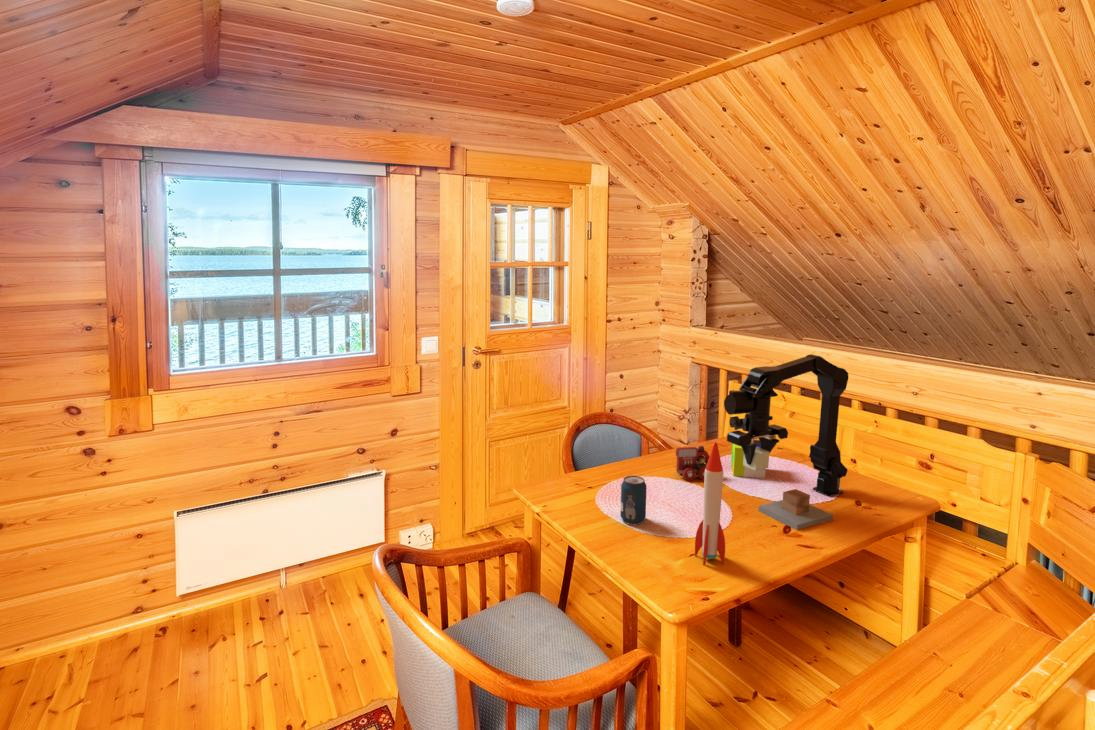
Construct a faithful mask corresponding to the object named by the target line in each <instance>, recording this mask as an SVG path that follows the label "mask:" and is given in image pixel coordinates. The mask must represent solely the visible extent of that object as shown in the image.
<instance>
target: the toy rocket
mask: <svg viewBox="0 0 1095 730" xmlns="http://www.w3.org/2000/svg"><path fill="white" fill-rule="evenodd" d="M703 481H704V482H703V483H704V484H703V508H702V509H703V512H702V516H703V518H702V520H701V522H700V523H699V525H698V527H697V529H696V535H695V538H694V539H695V541H694V556H695V557H696V556H697V555H698V553H699V551H700V549H702V552H701V553H702V557H703V558H702V559H703V561H702V563H703V564H702V566H705V565H706V563H707V559H709V560H710V559H711V560H712V559H716V558H717V556H718V555H719V557H720V561H721V563H722V564H723V565H724V564H725V558H726V557H725V556H726V539H725V534H724V530H723V528H722V525H721V522H720V521H721V509H722V497H723V496H722V495H723V487H724V486H723V485H724V469H723V465H722V460H721V455H720V450H719V447H718V442H716V441H715V442H714V443H713V446H712V448H711V452H710V454H709V460H708V463H707V466H706V468H705V474H704V480H703Z"/></svg>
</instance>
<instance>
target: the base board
mask: <svg viewBox="0 0 1095 730" xmlns="http://www.w3.org/2000/svg"><path fill="white" fill-rule="evenodd" d="M782 502H783V499H781V500H777V501H774V502H768V503H765V504H760V505H758V512H760V513H762V514H764V515H766V516H767V517H770V518H772V519H775V520H776V521H778V522H780V523H782V524H784V525H786V526H788V527H791V528H792V529H795V530H796V531H798V530H802V529H805V528H808V527H813V526H816V525H820V524H824V523H827V522H830V521H834V514H833V513H830V512H828V511H825V510H823V509H821V508H819V507H817V506H814V505H812V504H810V503H809V512H806V513H802V514H798V515H795V514H792V513H790V512H788V511H786V510H784V509H782Z"/></svg>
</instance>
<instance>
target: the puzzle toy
mask: <svg viewBox="0 0 1095 730" xmlns="http://www.w3.org/2000/svg"><path fill="white" fill-rule="evenodd" d="M731 444H732V445H731V460H730V467H732V468H731V473H732V472H733V473H732V476H733V477H734V476H743V477H742V478H748V477H753V478H752V479H762V478H765V479H766V469H767V468H765V469H760V470H756V471H755V470H753V469H751V468H748V467H746V466H744V465H743V458H744V452H743V449H742V447H741V446H738V445H736V444H733V443H731ZM753 444H756V445H757V446H756V447H759V448H761V442H760V440H759V439H754V440H753ZM754 477H756V478H754Z"/></svg>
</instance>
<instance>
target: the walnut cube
mask: <svg viewBox="0 0 1095 730" xmlns="http://www.w3.org/2000/svg"><path fill="white" fill-rule="evenodd" d="M810 497H811V495H810V494H808V493H806V492H803V491H801V490H799V489H798V488H795V489H790V490H787V491H783V492H782V500H783V502H782V509H784V510H786V511H788V512H790V513H792V514H795V515H798V514H802V513H806V512H809V504H810V499H811V498H810Z"/></svg>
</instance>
